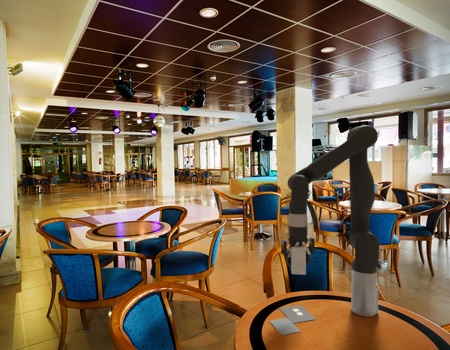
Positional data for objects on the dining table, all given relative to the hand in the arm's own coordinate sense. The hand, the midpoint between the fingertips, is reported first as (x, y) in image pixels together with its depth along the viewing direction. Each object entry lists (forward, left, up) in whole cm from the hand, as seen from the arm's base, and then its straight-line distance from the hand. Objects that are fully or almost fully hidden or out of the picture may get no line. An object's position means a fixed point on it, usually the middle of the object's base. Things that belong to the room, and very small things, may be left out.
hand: (298, 264), depth 121 cm
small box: (0, 0, -3) cm, 3 cm away
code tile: (+1, +1, -20) cm, 20 cm away
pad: (+10, +8, -20) cm, 24 cm away
